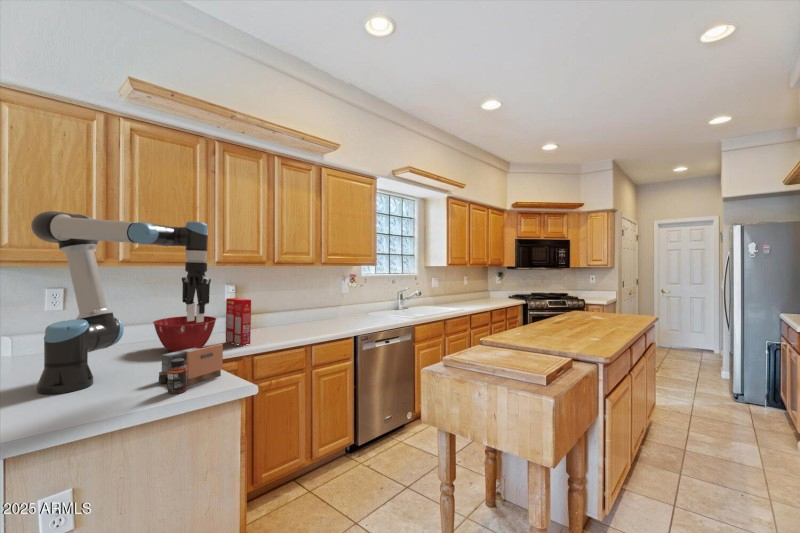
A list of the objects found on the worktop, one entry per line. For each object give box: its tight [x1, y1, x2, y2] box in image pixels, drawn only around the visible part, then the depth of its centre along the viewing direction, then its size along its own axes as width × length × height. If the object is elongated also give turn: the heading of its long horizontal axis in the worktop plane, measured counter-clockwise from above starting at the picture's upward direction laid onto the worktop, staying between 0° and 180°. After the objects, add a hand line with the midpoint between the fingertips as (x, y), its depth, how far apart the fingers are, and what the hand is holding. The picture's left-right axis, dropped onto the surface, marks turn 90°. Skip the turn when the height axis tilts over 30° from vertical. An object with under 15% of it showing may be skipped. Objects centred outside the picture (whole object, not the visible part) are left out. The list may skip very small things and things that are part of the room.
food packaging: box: [225, 297, 252, 346], centre depth 210 cm, size 15×5×25 cm, turn 58°
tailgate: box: [187, 343, 224, 379], centre depth 144 cm, size 15×2×10 cm, turn 156°
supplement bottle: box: [167, 358, 188, 395], centre depth 133 cm, size 6×6×11 cm
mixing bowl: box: [152, 315, 217, 353], centre depth 194 cm, size 28×28×16 cm
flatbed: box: [158, 348, 222, 387], centre depth 148 cm, size 19×14×10 cm
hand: (195, 321), depth 147 cm, fingers open, 4 cm apart
